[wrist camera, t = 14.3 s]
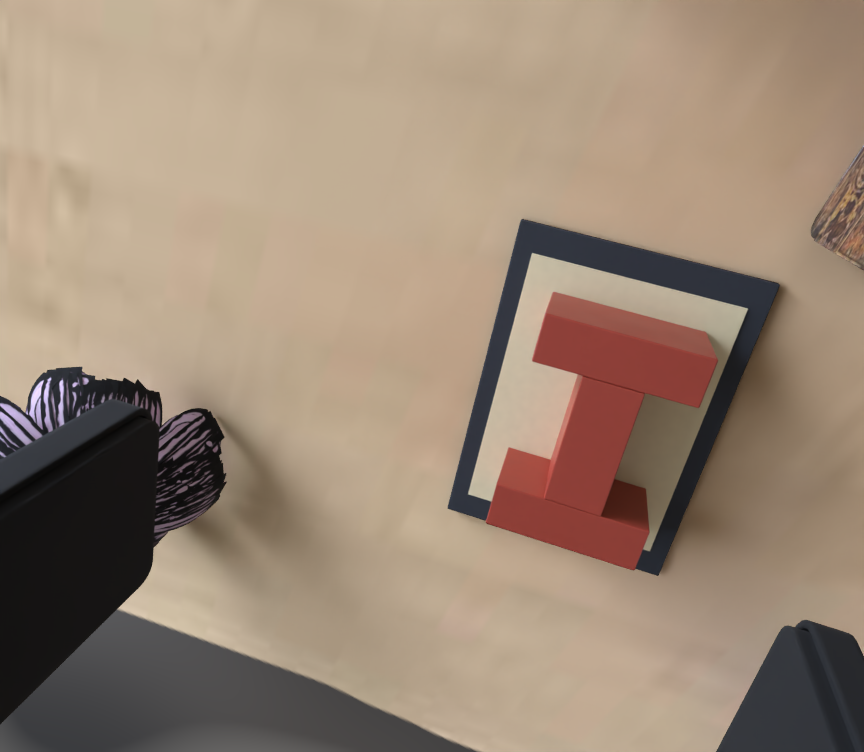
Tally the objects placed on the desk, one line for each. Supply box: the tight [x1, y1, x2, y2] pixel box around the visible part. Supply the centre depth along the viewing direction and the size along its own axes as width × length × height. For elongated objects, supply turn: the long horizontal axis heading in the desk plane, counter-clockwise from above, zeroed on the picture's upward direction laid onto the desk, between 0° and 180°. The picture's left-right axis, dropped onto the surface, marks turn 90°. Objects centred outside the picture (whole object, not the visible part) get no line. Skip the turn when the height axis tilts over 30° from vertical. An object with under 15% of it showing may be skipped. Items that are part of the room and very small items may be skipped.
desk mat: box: [448, 219, 780, 576], centre depth 38 cm, size 13×18×1 cm
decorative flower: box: [0, 367, 226, 547], centre depth 43 cm, size 15×12×15 cm
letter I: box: [486, 292, 718, 570], centre depth 36 cm, size 8×12×4 cm, turn 168°
